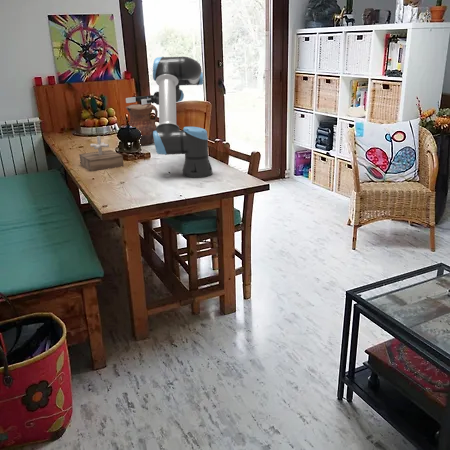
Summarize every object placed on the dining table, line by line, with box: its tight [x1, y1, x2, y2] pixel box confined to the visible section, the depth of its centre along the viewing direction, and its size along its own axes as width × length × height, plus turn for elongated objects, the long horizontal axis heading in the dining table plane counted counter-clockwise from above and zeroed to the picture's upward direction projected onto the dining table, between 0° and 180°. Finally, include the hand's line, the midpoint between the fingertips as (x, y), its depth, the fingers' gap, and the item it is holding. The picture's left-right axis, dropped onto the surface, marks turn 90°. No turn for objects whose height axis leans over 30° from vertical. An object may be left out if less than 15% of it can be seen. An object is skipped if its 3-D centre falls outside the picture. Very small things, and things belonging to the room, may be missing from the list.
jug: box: [125, 103, 159, 147], centre depth 306 cm, size 22×21×25 cm
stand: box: [79, 149, 124, 172], centre depth 255 cm, size 18×18×6 cm
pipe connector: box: [89, 135, 110, 155], centre depth 252 cm, size 10×10×10 cm
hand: (133, 101), depth 262 cm, fingers open, 13 cm apart
